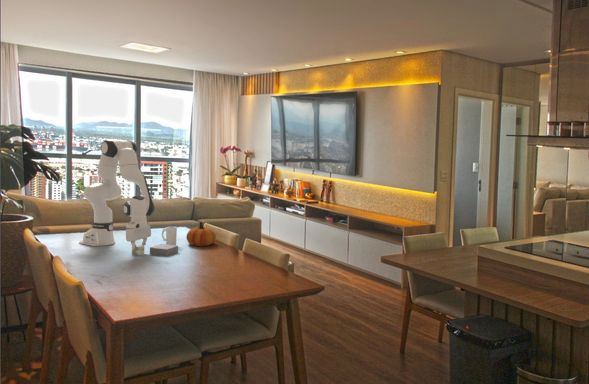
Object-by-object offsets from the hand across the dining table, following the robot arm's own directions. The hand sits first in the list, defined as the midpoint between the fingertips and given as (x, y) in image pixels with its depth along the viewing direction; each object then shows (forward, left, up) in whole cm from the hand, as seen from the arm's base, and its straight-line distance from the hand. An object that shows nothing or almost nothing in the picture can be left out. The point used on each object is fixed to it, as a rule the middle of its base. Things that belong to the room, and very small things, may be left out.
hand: (139, 246), depth 299 cm
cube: (-1, 0, -5) cm, 5 cm away
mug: (+1, +30, -5) cm, 30 cm away
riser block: (+11, +9, -5) cm, 15 cm away
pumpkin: (+18, +42, -5) cm, 46 cm away
